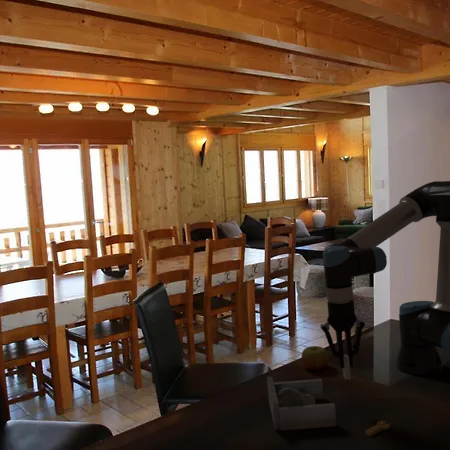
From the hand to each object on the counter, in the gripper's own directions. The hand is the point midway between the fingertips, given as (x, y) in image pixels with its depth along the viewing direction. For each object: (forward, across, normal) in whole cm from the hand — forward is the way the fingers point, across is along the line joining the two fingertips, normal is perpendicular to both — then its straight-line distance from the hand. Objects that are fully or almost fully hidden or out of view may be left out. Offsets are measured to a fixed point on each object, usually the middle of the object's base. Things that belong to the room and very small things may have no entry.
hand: (347, 377), depth 151 cm
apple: (+10, +4, -34) cm, 35 cm away
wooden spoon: (+10, -4, +14) cm, 17 cm away
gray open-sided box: (+9, +15, 0) cm, 17 cm away
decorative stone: (+9, +16, +2) cm, 18 cm away
